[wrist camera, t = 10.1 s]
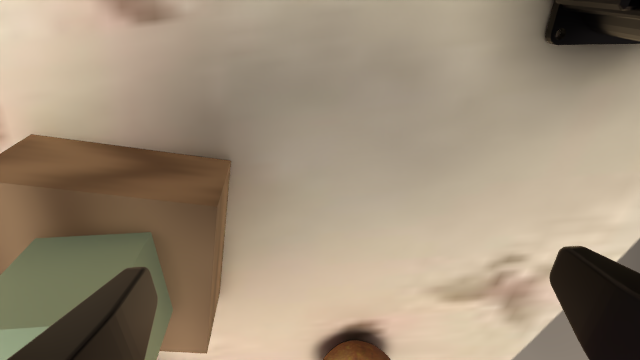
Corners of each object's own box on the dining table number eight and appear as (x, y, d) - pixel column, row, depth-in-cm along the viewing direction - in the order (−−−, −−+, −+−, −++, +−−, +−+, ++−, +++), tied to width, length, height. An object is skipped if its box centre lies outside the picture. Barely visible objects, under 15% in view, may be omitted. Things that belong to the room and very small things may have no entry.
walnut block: (231, 158, 21) (217, 206, 16) (220, 288, 25) (206, 353, 21) (34, 131, 19) (-39, 178, 15) (61, 276, 24) (10, 343, 19)
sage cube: (150, 232, 17) (103, 322, 12) (173, 309, 19) (140, 408, 15) (35, 238, 16) (-56, 333, 12) (72, 316, 19) (8, 419, 14)
